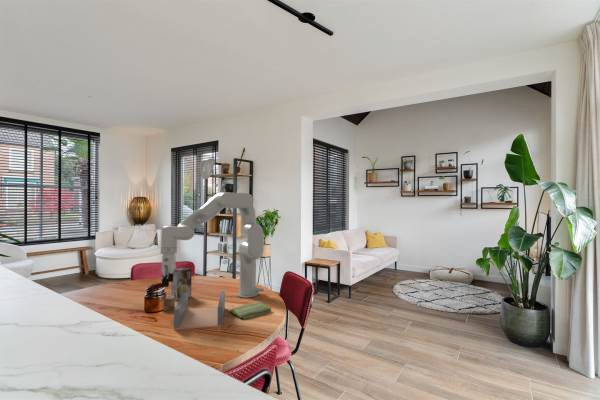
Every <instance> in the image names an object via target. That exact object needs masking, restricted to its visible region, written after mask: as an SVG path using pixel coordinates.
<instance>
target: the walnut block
mask: <svg viewBox="0 0 600 400" xmlns="http://www.w3.org/2000/svg"><path fill="white" fill-rule="evenodd" d="M165 296H166V299H164V306H163V311H162V312H169V311H174V309H175V307H176V304H175V303H176V300H175V296H171V295H165Z"/></svg>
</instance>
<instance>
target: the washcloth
mask: <svg viewBox="0 0 600 400" xmlns="http://www.w3.org/2000/svg"><path fill="white" fill-rule="evenodd" d="M229 311H230V313H232V314H233V315H234V316H236V317H238V318H241V319H243V320H247V319H251V318H254V317H258V316H261V315H264V314H268V313H271V311H272V307H269V306H268V305H265V304H264V303H263V302H261V301H260V300H259V301H258V300H257V301H254V302H251V303H246V304H244V305H243V304H242V305H239V306H235V307H233V308H231V309H230V310H229Z"/></svg>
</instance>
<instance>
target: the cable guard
mask: <svg viewBox="0 0 600 400" xmlns="http://www.w3.org/2000/svg"><path fill="white" fill-rule="evenodd" d="M225 308H226V291H220V295H219V299H218V305H217V307H202V308H201V307H200V308H189V297H188V293H184V294H183V296H182V297H181V299H180V300H178V302H177V304H176V305H175V307H174V309H173V311H174V313H173V315H174V316H173V330H174V331H175V330H191V329H192V330H193V329H207V328H221V327H223V324H224V323H223V322H224V318H225V317H224V315H225Z"/></svg>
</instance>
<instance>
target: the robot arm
mask: <svg viewBox="0 0 600 400" xmlns="http://www.w3.org/2000/svg"><path fill="white" fill-rule="evenodd" d="M253 204H254V198H253V196H252V194H250V193H247V192H229V191H221V192H217V193H216V194H214V195H213V196H212V197H211V198H210V199H209V200H208V201H206V202H205V203H204V204H203V205H202V206H201V207H199V208H197V210H195V211H194V212H192V213H191V214H190V215H188V216H187V217H185V218H184V219H183V220H182V221H181V222H179V224H178V225H164V226H162V227H161V233H160V234H161V236H160V238H161V240H160V254H161V256H162V258H161V274H162V277H161V287H162V288H168V287H170V283H171V282H173V272H174V271H175V269H177V267H176V254H177V252H178V241H189V240H191V239H192V238H194V237H195V228H198V226H200V225H203V224H205V223H209V222H210V221H211V220H212V219H214V217H216V216H217V215H218V214H219V213H220V212H221V211H222V210H223V209H224V208H226V209H227V208H228V209H238V211H239V214H240V233H241V236H242V237H243V238H245V239H247V240H244V241H242V242H241V243H240V244H239V246H238V257H239V280H238V281H239V288H238V289H239V291H236V296H237V297H238V298H244V299H245V298H246V299H248V298H255V297H257V296H258V295H259V292H264V287H257V285H256V284H257V260H258V259H260V258H261V257H262V256H263V253H264V237H265V236H264V229H263V227H262V226H261V225H260V224H258V223H257V220H256V219H257V217H256V209H255V207H254V205H253Z"/></svg>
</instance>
